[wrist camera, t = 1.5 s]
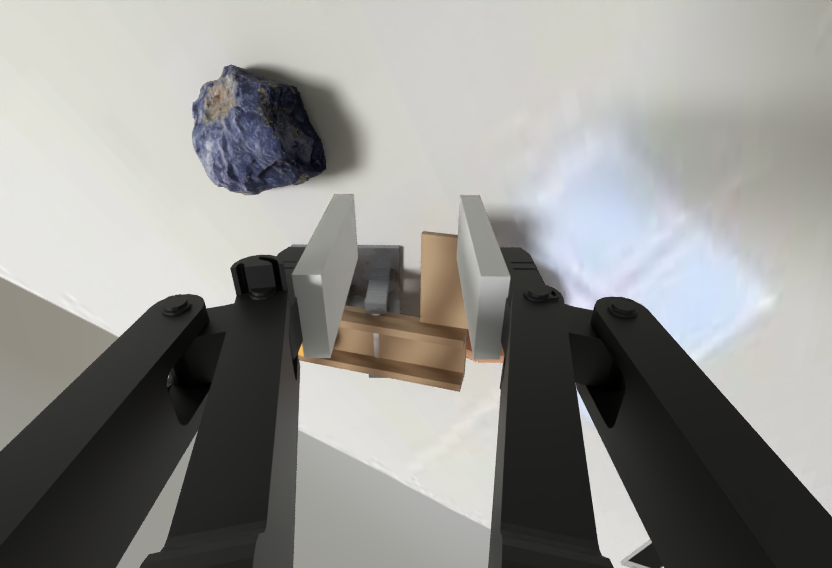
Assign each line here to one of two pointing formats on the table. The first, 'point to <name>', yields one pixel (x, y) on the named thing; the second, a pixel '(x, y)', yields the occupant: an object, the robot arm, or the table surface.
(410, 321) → the lever
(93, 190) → the table surface
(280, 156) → the rock
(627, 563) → the smartphone
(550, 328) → the robot arm
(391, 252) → the pivot base
